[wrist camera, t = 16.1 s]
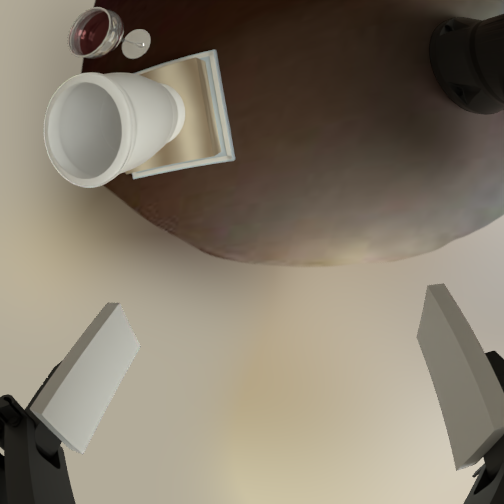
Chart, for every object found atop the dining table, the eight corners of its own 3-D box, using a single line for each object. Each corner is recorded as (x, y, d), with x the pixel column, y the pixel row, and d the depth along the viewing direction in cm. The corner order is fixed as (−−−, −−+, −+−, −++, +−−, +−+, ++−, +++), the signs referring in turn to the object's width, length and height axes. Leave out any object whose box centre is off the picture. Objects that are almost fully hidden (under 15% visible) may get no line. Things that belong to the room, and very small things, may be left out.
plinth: (205, 61, 33) (196, 57, 30) (221, 151, 39) (213, 156, 35) (122, 87, 36) (107, 86, 32) (139, 168, 41) (125, 174, 38)
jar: (210, 99, 32) (153, 103, 19) (169, 167, 37) (105, 210, 24) (143, 62, 30) (64, 56, 17) (110, 129, 35) (31, 155, 22)
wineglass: (145, 15, 31) (100, -4, 20) (163, 47, 33) (119, 32, 23) (111, 41, 33) (61, 32, 22) (126, 72, 35) (77, 68, 25)
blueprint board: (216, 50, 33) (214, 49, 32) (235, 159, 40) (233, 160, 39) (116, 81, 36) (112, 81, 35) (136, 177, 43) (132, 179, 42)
